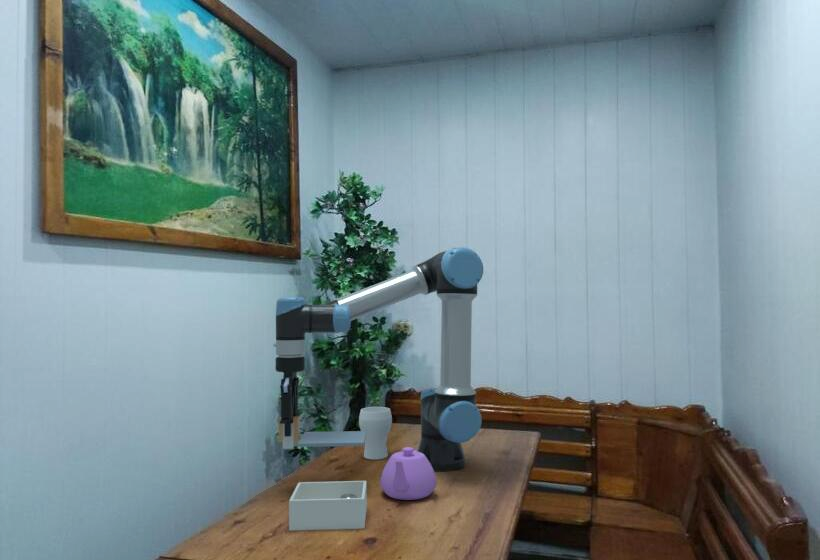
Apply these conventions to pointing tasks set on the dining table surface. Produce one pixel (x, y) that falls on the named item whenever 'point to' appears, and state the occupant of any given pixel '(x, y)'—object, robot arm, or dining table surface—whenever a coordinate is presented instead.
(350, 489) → the tub
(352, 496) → the slug
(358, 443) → the lid
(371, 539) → the dining table surface
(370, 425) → the cup
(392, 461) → the teapot
